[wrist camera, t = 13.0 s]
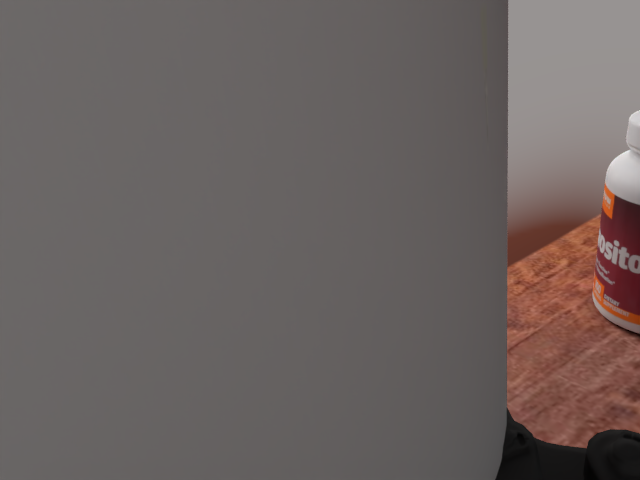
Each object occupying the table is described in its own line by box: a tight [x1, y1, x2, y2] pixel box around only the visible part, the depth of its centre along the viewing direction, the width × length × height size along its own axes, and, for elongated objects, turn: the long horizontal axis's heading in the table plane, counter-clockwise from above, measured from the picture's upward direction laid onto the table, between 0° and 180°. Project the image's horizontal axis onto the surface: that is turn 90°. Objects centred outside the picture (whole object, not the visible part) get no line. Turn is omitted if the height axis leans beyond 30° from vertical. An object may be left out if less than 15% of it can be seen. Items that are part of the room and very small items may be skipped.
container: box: [0, 0, 508, 480], centre depth 12 cm, size 10×10×20 cm
